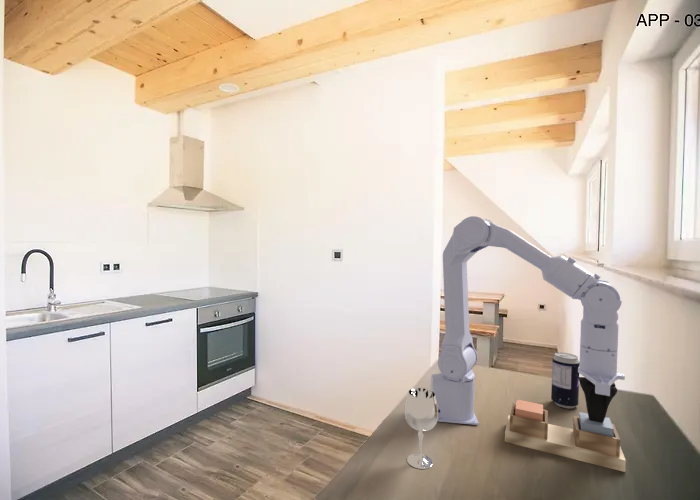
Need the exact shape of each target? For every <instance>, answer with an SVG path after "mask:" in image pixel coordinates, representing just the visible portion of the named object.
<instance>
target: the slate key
mask: <svg viewBox="0 0 700 500" xmlns="http://www.w3.org/2000/svg"><path fill="white" fill-rule="evenodd" d="M578 417H579V430H583V431H588V432H592V433H597V434H602V435H606V436H611V437H613V434H614V429H613V426H612V424H613V423H612V420H611V418H610V417H606V416H605V419H604V422H603V423H600V422H595V421H590V420H589V416H588V412H587V413H586V412H581V411H579V413H578Z"/></svg>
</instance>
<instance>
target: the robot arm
mask: <svg viewBox="0 0 700 500" xmlns="http://www.w3.org/2000/svg"><path fill="white" fill-rule="evenodd" d="M487 247H493V248H494V247H496V248H501V249H503V248H504V249H506V250H507V251H510V252H511V253H513V254H515V255H516V256H518V257H519V258H521V259H523V260H524V261H526V262H527V263H529V264H531V265H533V266H534V267H536V268H537V269H539V270H540V271H541V274H542V280H544V281H545V282H547V283H548V284H550V285H551V286H553V287H554V288H556V289H557V290H559V291H560V292H562V293H563V294H565V295H567V296H568V297H570V298H571V299H572V300H579V301H580V303H581V305H582V307H583V309H582V315H583V316H582V318H581V320H580V339H579V341H580V342H579V362H580V363H579V367H578V372H579V375H581V376H579V386H580V388H581V389H582V391H583V394H584V398H585V399H584V400H585V403H586V412H587V414H588V416H589V420H590V421H595V422H600V423H603V422H604V419H605V417H606V415H607V412H608V409H609V406H610V405H611V404H610V403H611V402H612V400H613V398H614V397H615V396H616V395H617V392H618V389H617V387H616V383H615V382H616V381H617V380H621V381H625V380H626V379H625V378H626V375H625V374H624V373H622V372H617V371H618V370H617V369H618V346H619V323H618V320H619V314H618V311H619V310H620V308H621V306H622V300H621V297H620V294H619V292H618V289H616V288H615V287H614V285H612V284H610V282H609V281H607V280H603V279H601V277H602V276H601V275H600V274H598V273H595V274H593V273H592V272H590V271H589V270H587V269H585V268H584V267H582V266H581V265H578V264H577V263H576V262H577V259H575V258H573V257H572V256H569V257H568V258H567V257H566V256H564V255H557V256H551V255H548V253H546V252H544V251H543V250H541V249H540V248H539V247H537V246H536V245H533V244H532V243H531V242H529V241H528V240H526V239H525V238H524V237H522V236H520V235H519V234H517V233H516V232H514V231H513V230H511V229H509V228H506V227H505V226H502V225H500V224H497V223H494V222H493V221H491V220H489V219H487V218H485V219H484V218H482V217H479V216H474V215H473V216H468V217H466V218H464V219H463V220H461V221H460V222H459V223H458V224H457V225H456V226H454V227H453V231H452V235H451V237H450V239H449V241H448V242H447V244H446V246H445V247H444V249H443V251H442V269H443V270H442V272H443V274H442V277H443V298H444V299H443V301H444V325H445V333H444V335H443V339H442V342H441V350H440V354H439V355H438V360H437V365H438V369H439V371H440V373H432V374H431V378H430V390H431V391H433V392H434V393H435V395H436V400H437V405H438V420H437V423H438V422H440V423H450V424H451V423H452V424H463V425H474V426H478V425H479V420H478V418H477V416H476V414H475V385H476V384H475V383H476V382H475V379H476V375H475V373H474V370H473V367H474V366H476V364H477V362H478V359H479V358H478V357H479V356H478V352H477V350H476V349H475V345H474V343H473V336H472V334H471V331H470V316H469V315H470V313H469V311H470V310H469V287H468V286H469V285H468V261H469V260H470V259H471V258H473V256H474V255H475V254H477V252H479V251H482V250H483V249H485V248H487Z"/></svg>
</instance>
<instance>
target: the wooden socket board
mask: <svg viewBox="0 0 700 500" xmlns="http://www.w3.org/2000/svg"><path fill="white" fill-rule="evenodd" d="M515 408H516V403H514V402H513V403H512V404H511V410H510V414H508V416H507V420H506V425H505V431H504V443H508V444H513V445H516V446H519V447H524V448H528V449H532V450H536V451H539V452H544V453H546V454H547V453H548V454H552V455H556V456H560V457H563V458H564V457H565V458H567V459H571V460H576V461H580V462H583V463H588V464H592V465H596V466H600V467H604V468H608V469H612V470H616V471H620V472H623V473H625V472H626V464H627V460H626V457H625V454H624V453H623V450H622V447H621V438H620V435H619V433H618V431H617V428H616V425H615V424H614V423H612V426H613V429H614V434H613V437H611V436H606V435H602V434H597V433H592V432H588V431H583V430H579V415H578V416H576V415H573V418H572V421H573V422H572V423H573V426H572V428H569V427H564V426H560V425H555V424H550V423H549V411H548V410H547V409H543V422H542V421H537V420H533V419H528V418H524V417H519V416H515Z"/></svg>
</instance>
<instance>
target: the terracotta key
mask: <svg viewBox="0 0 700 500" xmlns="http://www.w3.org/2000/svg"><path fill="white" fill-rule="evenodd" d="M515 404H516V408H515V416H519V417H524V418H528V419H533V420H537V421H542V422H543V410H544V405H543V404H542V403H536V402H532V401H531V402H530V401H527V400H521V399H516V402H515Z"/></svg>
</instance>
